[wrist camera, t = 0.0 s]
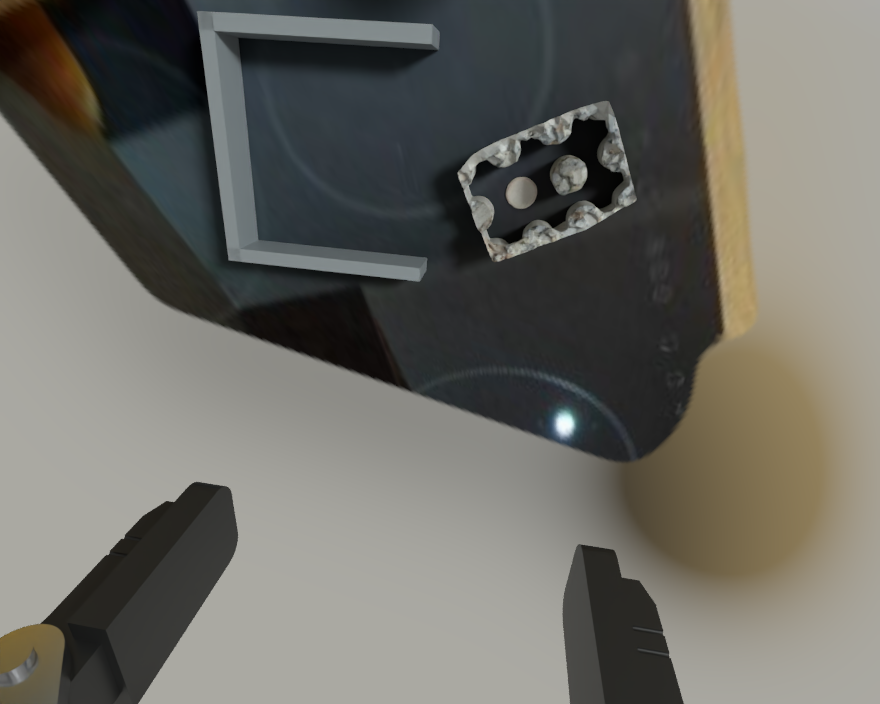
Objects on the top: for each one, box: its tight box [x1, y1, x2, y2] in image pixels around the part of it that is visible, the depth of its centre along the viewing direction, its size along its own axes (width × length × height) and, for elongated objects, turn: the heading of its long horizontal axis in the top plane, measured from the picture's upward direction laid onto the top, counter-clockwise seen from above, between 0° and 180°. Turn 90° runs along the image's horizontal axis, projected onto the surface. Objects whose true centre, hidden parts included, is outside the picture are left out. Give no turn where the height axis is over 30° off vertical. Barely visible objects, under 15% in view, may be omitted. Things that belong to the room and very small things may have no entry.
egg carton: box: [458, 101, 637, 262], centre depth 33 cm, size 11×8×4 cm
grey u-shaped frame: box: [197, 11, 440, 281], centre depth 35 cm, size 16×15×3 cm
